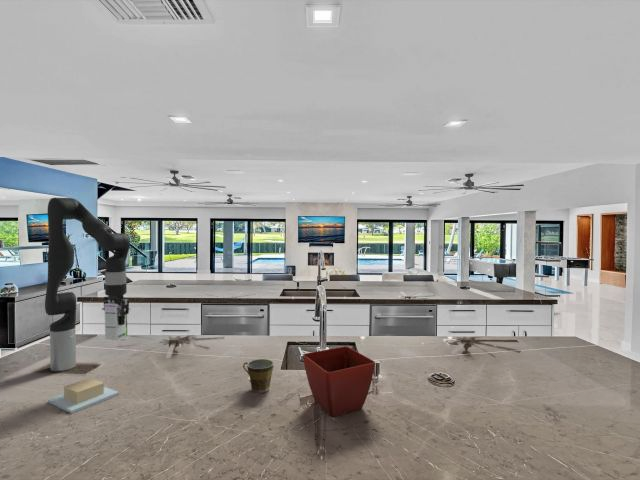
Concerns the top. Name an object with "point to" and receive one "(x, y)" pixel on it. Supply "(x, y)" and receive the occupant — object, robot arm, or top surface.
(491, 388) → the top surface
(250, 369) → the ceramic cup
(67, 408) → the build base
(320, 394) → the plant pot
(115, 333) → the syrup box
